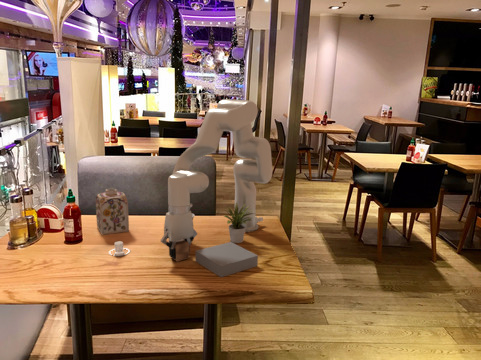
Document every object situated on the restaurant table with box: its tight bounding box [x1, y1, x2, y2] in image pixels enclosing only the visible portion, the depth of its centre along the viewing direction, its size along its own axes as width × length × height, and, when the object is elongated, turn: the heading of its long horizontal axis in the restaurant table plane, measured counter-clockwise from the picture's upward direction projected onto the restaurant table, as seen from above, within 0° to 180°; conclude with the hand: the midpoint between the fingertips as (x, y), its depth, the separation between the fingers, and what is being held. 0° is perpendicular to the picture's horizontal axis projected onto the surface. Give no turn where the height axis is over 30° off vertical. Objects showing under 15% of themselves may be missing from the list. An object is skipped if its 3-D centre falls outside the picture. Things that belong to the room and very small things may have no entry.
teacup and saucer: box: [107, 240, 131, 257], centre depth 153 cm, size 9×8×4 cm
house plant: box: [223, 202, 256, 244], centre depth 166 cm, size 14×14×16 cm
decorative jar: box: [95, 188, 130, 236], centre depth 176 cm, size 12×12×18 cm
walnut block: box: [173, 239, 190, 262], centre depth 149 cm, size 5×5×6 cm
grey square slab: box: [194, 241, 259, 278], centre depth 146 cm, size 16×16×4 cm
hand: (179, 255), depth 149 cm, fingers closed on walnut block, 5 cm apart
